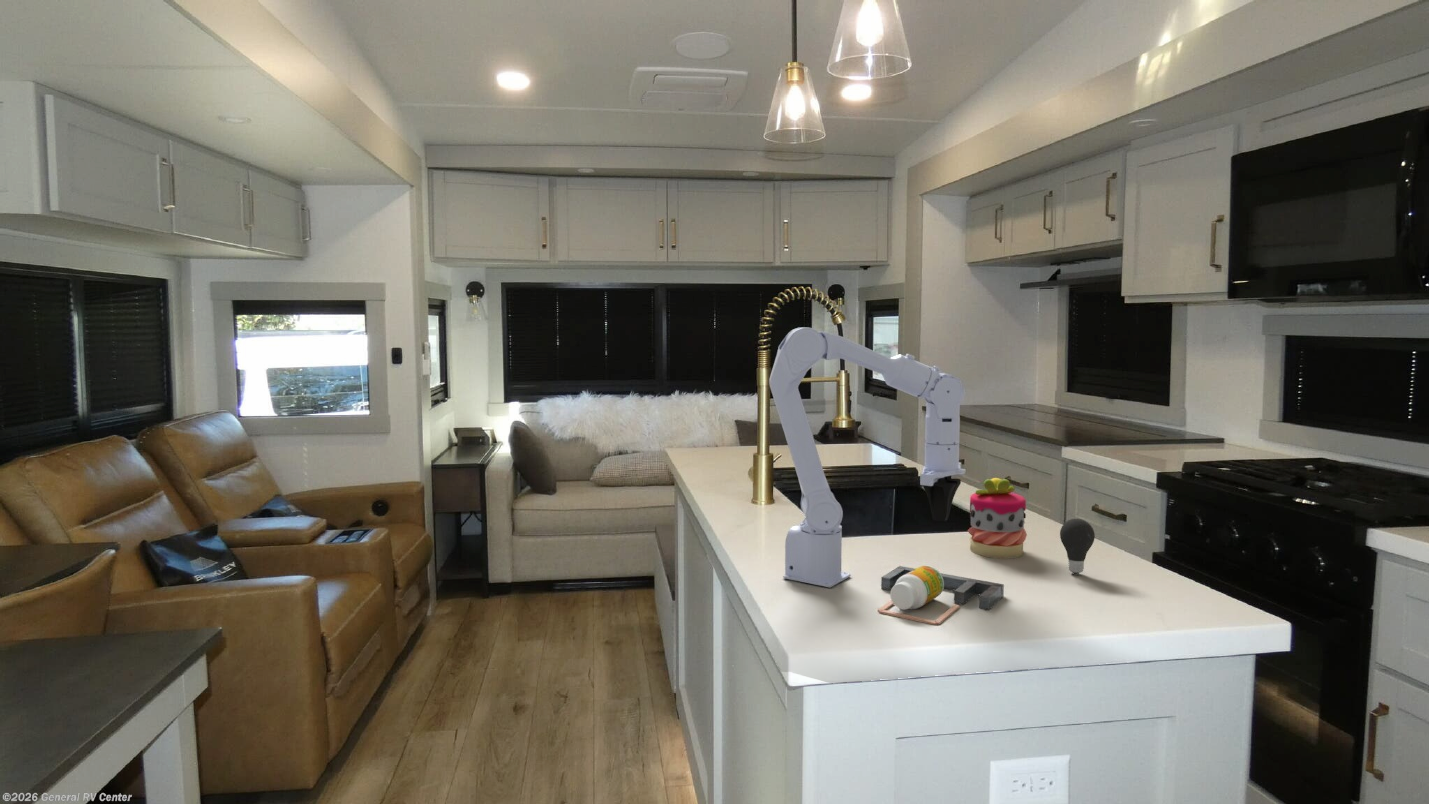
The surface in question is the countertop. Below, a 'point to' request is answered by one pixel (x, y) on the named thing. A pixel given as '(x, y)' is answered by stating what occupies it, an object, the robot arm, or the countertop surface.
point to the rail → (956, 587)
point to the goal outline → (937, 621)
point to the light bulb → (1077, 542)
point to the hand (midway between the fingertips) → (940, 520)
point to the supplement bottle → (917, 588)
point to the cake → (997, 520)
